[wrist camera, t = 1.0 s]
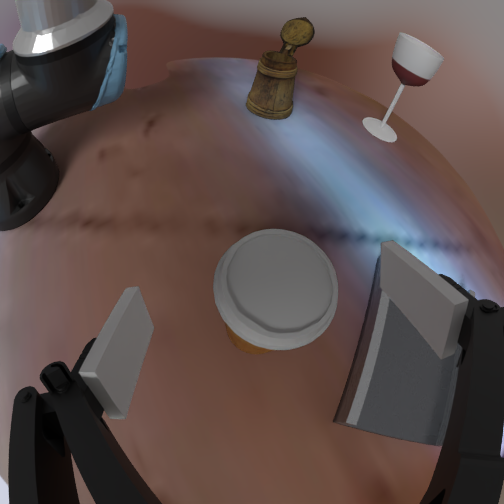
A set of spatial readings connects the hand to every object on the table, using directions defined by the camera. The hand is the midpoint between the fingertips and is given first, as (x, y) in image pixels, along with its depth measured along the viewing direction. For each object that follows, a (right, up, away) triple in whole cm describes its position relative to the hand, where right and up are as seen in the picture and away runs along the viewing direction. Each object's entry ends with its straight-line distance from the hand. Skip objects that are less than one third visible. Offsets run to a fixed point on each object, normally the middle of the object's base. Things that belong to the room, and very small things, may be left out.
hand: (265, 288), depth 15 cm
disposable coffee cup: (0, -6, +16) cm, 17 cm away
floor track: (+20, -11, +17) cm, 28 cm away
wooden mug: (+4, +31, +38) cm, 49 cm away
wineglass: (+26, +28, +40) cm, 55 cm away
